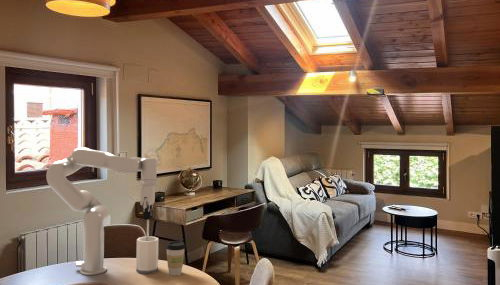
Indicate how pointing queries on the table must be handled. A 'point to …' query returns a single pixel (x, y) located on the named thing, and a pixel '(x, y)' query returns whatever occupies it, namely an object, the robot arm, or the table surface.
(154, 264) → the coffee press
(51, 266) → the table surface
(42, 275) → the table surface
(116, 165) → the robot arm
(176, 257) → the coffee cup
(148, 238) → the plunger
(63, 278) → the table surface
